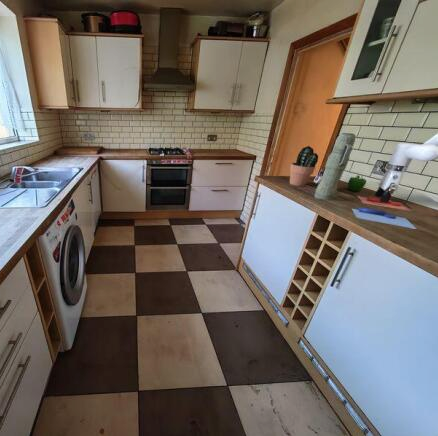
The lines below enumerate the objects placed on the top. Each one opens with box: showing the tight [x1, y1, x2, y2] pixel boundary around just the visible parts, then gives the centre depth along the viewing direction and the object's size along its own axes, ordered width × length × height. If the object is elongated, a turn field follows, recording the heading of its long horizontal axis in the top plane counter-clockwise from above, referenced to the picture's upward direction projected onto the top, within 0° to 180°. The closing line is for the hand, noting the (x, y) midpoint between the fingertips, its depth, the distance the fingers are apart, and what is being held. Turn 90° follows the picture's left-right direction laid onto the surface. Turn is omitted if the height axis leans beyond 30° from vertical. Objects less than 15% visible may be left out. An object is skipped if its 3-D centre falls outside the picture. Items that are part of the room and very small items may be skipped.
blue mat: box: [351, 208, 417, 230], centre depth 106 cm, size 20×13×1 cm, turn 59°
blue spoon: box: [357, 206, 397, 219], centre depth 109 cm, size 14×4×2 cm, turn 59°
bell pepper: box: [347, 175, 367, 192], centre depth 143 cm, size 8×8×10 cm
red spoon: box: [367, 196, 401, 206], centre depth 124 cm, size 14×4×2 cm, turn 59°
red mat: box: [357, 195, 414, 212], centre depth 124 cm, size 20×13×1 cm, turn 59°
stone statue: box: [314, 132, 356, 201], centre depth 122 cm, size 9×12×35 cm
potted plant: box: [289, 145, 319, 187], centre depth 149 cm, size 14×14×25 cm
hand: (380, 199), depth 124 cm, fingers open, 9 cm apart
